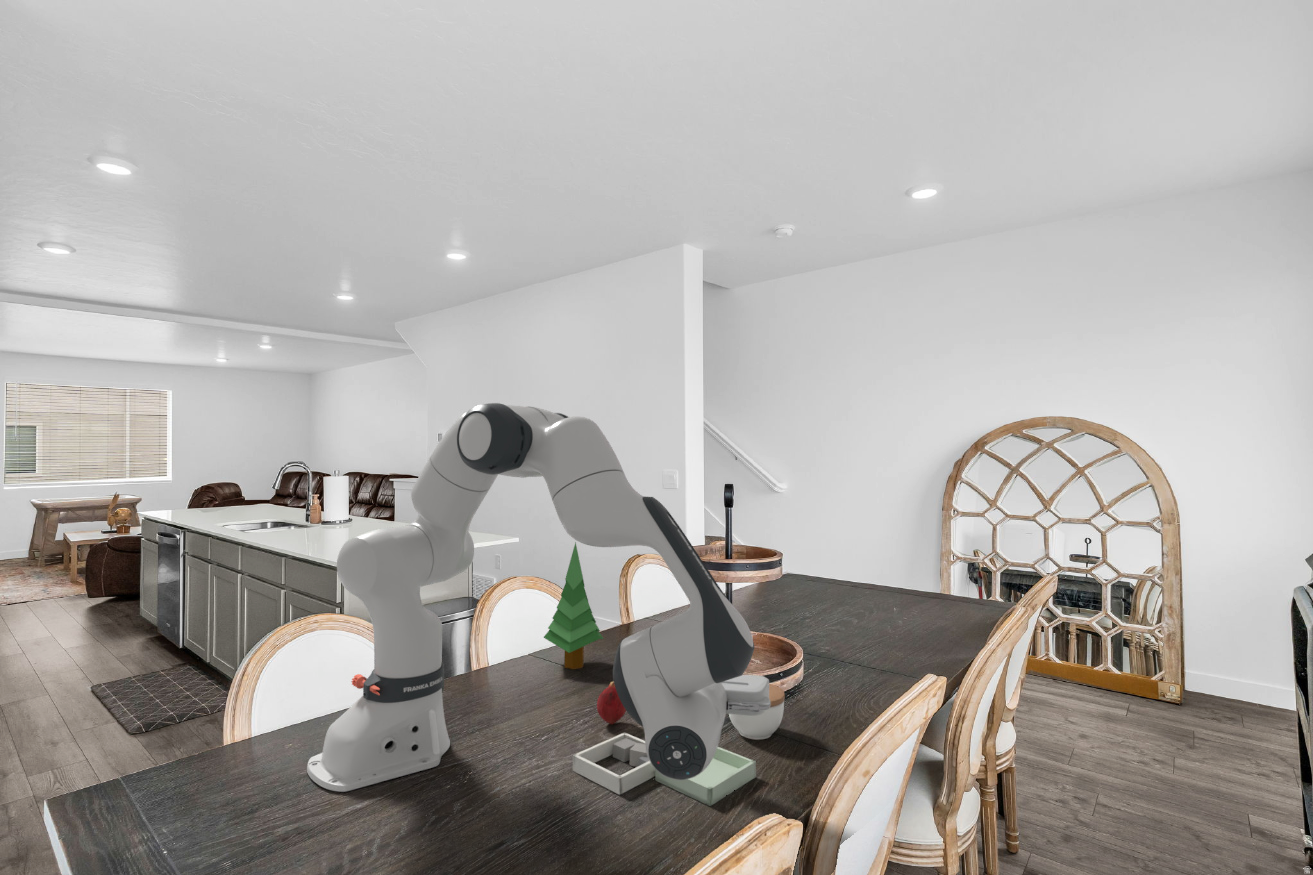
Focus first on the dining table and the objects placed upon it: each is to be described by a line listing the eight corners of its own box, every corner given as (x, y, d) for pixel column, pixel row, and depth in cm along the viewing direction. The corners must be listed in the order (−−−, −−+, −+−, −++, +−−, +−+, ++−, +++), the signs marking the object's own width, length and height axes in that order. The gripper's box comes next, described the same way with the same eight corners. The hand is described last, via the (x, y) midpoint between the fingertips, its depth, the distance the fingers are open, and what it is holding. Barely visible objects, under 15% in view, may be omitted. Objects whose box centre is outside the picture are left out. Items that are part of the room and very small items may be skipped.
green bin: (710, 806, 98) (710, 789, 98) (655, 780, 105) (655, 764, 105) (755, 776, 106) (755, 761, 106) (702, 755, 114) (702, 740, 114)
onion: (622, 732, 123) (623, 688, 123) (592, 729, 124) (593, 686, 124) (629, 719, 129) (630, 678, 129) (601, 716, 130) (602, 675, 130)
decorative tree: (582, 680, 150) (583, 548, 150) (530, 667, 158) (532, 542, 158) (616, 663, 161) (617, 541, 162) (566, 653, 170) (568, 536, 170)
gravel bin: (619, 794, 101) (619, 777, 101) (572, 770, 108) (572, 754, 108) (671, 767, 109) (671, 751, 109) (624, 746, 117) (624, 731, 117)
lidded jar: (739, 748, 117) (740, 695, 117) (718, 723, 127) (718, 674, 127) (794, 741, 119) (795, 689, 120) (769, 718, 130) (769, 670, 130)
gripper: (770, 687, 91) (772, 657, 105) (626, 676, 95) (647, 648, 109) (769, 733, 91) (772, 697, 105) (626, 720, 95) (646, 686, 109)
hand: (707, 672), depth 107 cm, fingers closed on sprinkles bottle, 4 cm apart
